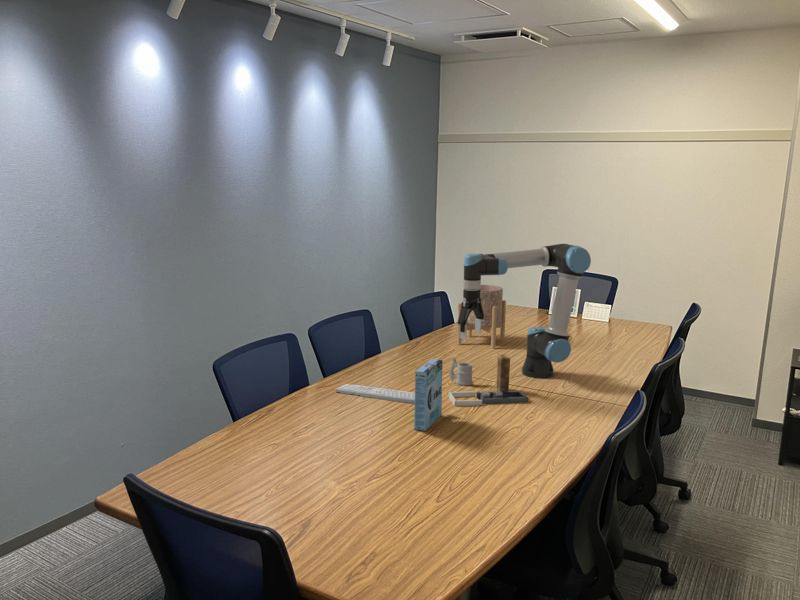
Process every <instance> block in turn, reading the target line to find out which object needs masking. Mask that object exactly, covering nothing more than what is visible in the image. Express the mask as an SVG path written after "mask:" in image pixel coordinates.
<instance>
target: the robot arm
mask: <svg viewBox="0 0 800 600" xmlns="http://www.w3.org/2000/svg"><path fill="white" fill-rule="evenodd" d="M591 263H592V260H591V255H590V253H589V251H588V250H587V249H586V248H584V247H582V246H580V245H573V244H568V243H557V244H556V243H555V244H551V245H550V244H549V245H544V246H543V245H542V246H541V247H540V248H535V249H525V250H517V251H516V250H515V251H506V252H496V253H495V252H494V253H486V254H483V253H468V254H467V253H466V254H465V255H464V258H463V282H462V283H463V290H462V291H463V293H462V294H463V297H464V298H465V299H466V302H463V301H461V303H462V307H461V311H460V315H459V319H458V318H457V325H458V324H460V339H461V340H467V337H468V330H467V325H466V322H467V319H468V317H469V314H470V312H472V310H473V311H474V314H475V316H476V318H477V319H475V330H474V334H481V333H482V329H481V319H484V312H483V308H482V303H481V298H480V290H479V289H480V288H481V285H482V283H481V282H482V281H481V280H482V276H501V275H505V274H507V272H508V269H513V268H514V269H515V268H523V267H533V266H534V267H535V266H542V267H555V268H557V271H556V273H557V275H558V282H557V287H556V290H555V291H556V292H555V296H554V300H553V304H552V308H551V313H550V318H549V322H548V326H547V327H546V326H536V327H534V326H533V327H530V328H528V330H527V337H526V338H527V339H526V341H527V342H526V357H525V360H524V362H523V365H522V367H521V373H522V375H524V376H525V377H530V378H536V379H546V378H551V377H553V376H554V372H555V371H554V367H553V363H557V364H558V363H562V362H564V361H565V360H567V359H568V358H569V356H570V355H571V352H572V346H571V344H570V342H569V340H570V334H569V331H568V329H569V324H570V319H571V314H572V310H573V305H574V302H575V297H576V293H577V288H578V283H579V280H580V279H583V276H584V273H585V272H586V271H587V270H589V268H590V267H591ZM463 297H462V298H463Z"/></svg>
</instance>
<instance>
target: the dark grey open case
mask: <svg viewBox="0 0 800 600" xmlns="http://www.w3.org/2000/svg"><path fill="white" fill-rule="evenodd" d="M480 392H481V391H477V392H475V397H476V399H477V400H482V405H493V404H494V405H495V404H500V405H501V404H517V403H518V404H520V403H521V404H522V403H523V404H524V403H527V404H528V403H529V396H528V395H526V394H525V393H524V392H523V391H522V390H509V391H501V392H502V393H503V396H502V398H493V391H488V392H489V393H490V398H481V399H480Z"/></svg>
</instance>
